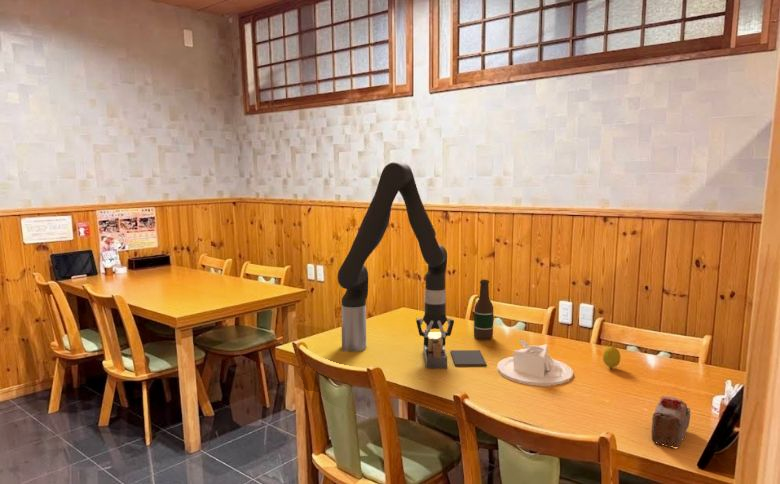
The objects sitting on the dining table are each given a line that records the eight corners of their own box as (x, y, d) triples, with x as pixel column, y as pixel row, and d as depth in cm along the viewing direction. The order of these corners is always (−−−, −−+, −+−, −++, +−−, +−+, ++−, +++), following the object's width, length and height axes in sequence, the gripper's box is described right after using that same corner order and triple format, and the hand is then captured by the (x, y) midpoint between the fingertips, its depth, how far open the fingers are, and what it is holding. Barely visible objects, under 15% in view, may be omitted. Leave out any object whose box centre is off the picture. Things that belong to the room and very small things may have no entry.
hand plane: (447, 368, 180) (447, 346, 179) (426, 368, 180) (427, 346, 179) (441, 350, 198) (442, 330, 197) (423, 350, 198) (423, 330, 197)
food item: (656, 421, 142) (658, 387, 141) (689, 429, 138) (692, 394, 136) (648, 443, 131) (651, 406, 130) (685, 452, 126) (688, 414, 125)
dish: (552, 393, 161) (554, 358, 159) (483, 372, 177) (483, 340, 176) (584, 371, 178) (586, 339, 177) (519, 354, 195) (520, 324, 194)
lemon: (619, 366, 181) (621, 344, 180) (619, 372, 176) (620, 349, 175) (602, 364, 183) (603, 342, 182) (601, 369, 178) (603, 347, 177)
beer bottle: (494, 340, 210) (495, 282, 206) (475, 340, 210) (476, 282, 206) (491, 334, 217) (492, 278, 214) (472, 334, 217) (473, 278, 214)
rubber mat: (455, 366, 182) (455, 364, 182) (450, 352, 196) (450, 350, 196) (486, 366, 182) (486, 363, 182) (479, 352, 196) (479, 350, 196)
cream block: (428, 351, 185) (428, 339, 184) (426, 343, 193) (426, 332, 192) (442, 351, 185) (442, 339, 184) (440, 343, 193) (440, 332, 192)
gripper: (415, 303, 183) (415, 350, 185) (456, 303, 183) (455, 350, 185) (414, 298, 190) (414, 343, 192) (453, 298, 190) (453, 343, 192)
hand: (434, 346), depth 189 cm, fingers closed on cream block, 5 cm apart
